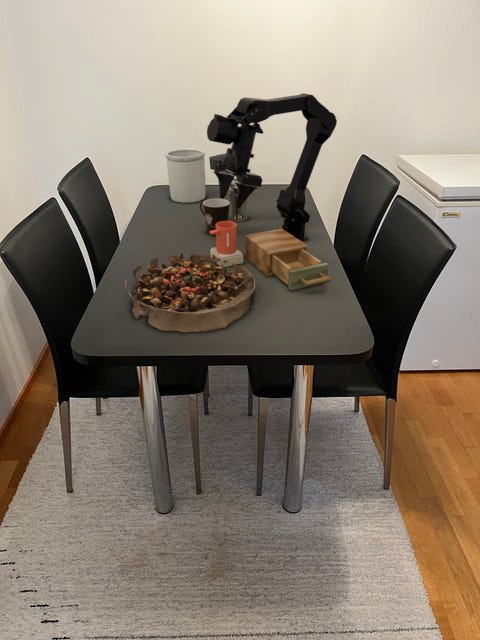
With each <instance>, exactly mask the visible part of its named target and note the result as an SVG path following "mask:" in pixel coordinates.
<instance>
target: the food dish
mask: <svg viewBox="0 0 480 640" xmlns="http://www.w3.org/2000/svg"><path fill="white" fill-rule="evenodd" d="M167 260H168V262H170V263H171V266H167V265H166V263H164V262H162V263H161V266H160V268H158V262H159V259H158V258H153V259H151V260H150V263H149V266H147V271H148V273H141V274H140V276H139V279H137V272H140V270H141V269H142V268H143V264H141V263H140V264H138V265H136V266H134V268H133V269H132V271H131V272H132V273H131V274H132V276H133V278H134V281H135V284H134V287H133V288H134V290H133V293H134V295H132V293H131V292H129V291H128V289H129V288H128V287H129V283H128V280H127V279H125V280H124V284H125V285H124V286H125V290H126V291H127V294H128V296H129V297H130V298H131V301H132V306H133V308H132V309H131V311H132V313H133V317H135V319H137V320H138V319H139V318H140V316H147V317H148V320H147V322H148V325H150V326H151V327H153V328H156V329H158V330H160V331H165V332H175V331H177V332H180V333H191V332H192V333H193V332H197V333H198V332H209V331H214V330H219V329H224V328H226V327H227V326H228V325H229V324H231V323H233V322H234V321H235V320H238V319H239V318H241V317H242V316H243V315H245V313H247V312H248V311H249V310H250V304H251V303H252V296H253V294H254V292H255V290H256V288H257V287H256V284H257V282H256V279H255V277H254V275H253V274H252V272H251V271H250V270H248V269H246V268H245V267H244V266H240V265H239V264H233V263H232V264H233V265H232V266H233V267H232V268H233V270H235V271H236V273H235V272H234V271H230V270H229V271H228V270H227V268H226V267H224V266H223V265H222V266H221V267H220V266H219V265H218V264H217V265H215V266H213V265H212V264H214V263H216V262H218V261H220V260H221V259H220V258H215V257H211V256H208V255H202V254H201V255H200V254H197V253H191V254H190V256H189V258H187V259H186V258H185V257H184V253H183V252H180V254H179V255H176V254H175V255H169V256H168V257H167ZM206 262H209V263H206ZM223 262H224V263H227V262H228V261H227V260H224V261H223ZM210 263H212V264H210Z"/></svg>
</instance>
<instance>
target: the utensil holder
mask: <svg viewBox="0 0 480 640" xmlns="http://www.w3.org/2000/svg"><path fill="white" fill-rule="evenodd" d="M205 156H206V152H205V150H204V149H201V148H198V147H179V148H173V149H169V150H167V151H166V152H165V158H166V165H167V166H166V167H167V175H168V185H169V194H170V199H171V201H173V202H176V203H182V204H183V203H184V204H189V203H197V202H202V201H203V200H205V198H206V196H207V195H206V162H205Z"/></svg>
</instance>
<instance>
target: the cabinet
mask: <svg viewBox="0 0 480 640" xmlns="http://www.w3.org/2000/svg"><path fill="white" fill-rule="evenodd" d="M299 249H304V250H305V251H307V252H308V244H306V243H304V242H303V240H301V241H300V240H298V239H297V238H295V237H294V236H292V235H291V234H289V233H288V232H286V231H285V230H283V229H282V228H277V229H272V230H267V231H266V230H265V231H261V232H255V233H251V234H245V235H244V258H246V260H248V261H249V262H250V263H251V264H252V265H254V266H255V267H256V268H257V269H258V270H260V271H261V272H262V273H263V274H264V275H265V276H267V277H271V276H276V275H275V274H274V273H273V272H271V271H270V261H271V255H274V254H279V253H284V252H289V251H294V250H299Z"/></svg>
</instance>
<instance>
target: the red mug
mask: <svg viewBox="0 0 480 640" xmlns="http://www.w3.org/2000/svg"><path fill="white" fill-rule="evenodd" d="M237 229H238V225H237V222H235V221H233V220H228V221H221V222H218V223H217V224H216V230H213V231H210V234H212V235H211V236H214V235H213V234H216V236H215V247H216V249H217V252H218V253H219V254H223V255H229V254H233V253H235V252H236V250H237V249H238V234H237V233H238V231H237ZM210 234H209V235H210Z"/></svg>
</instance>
